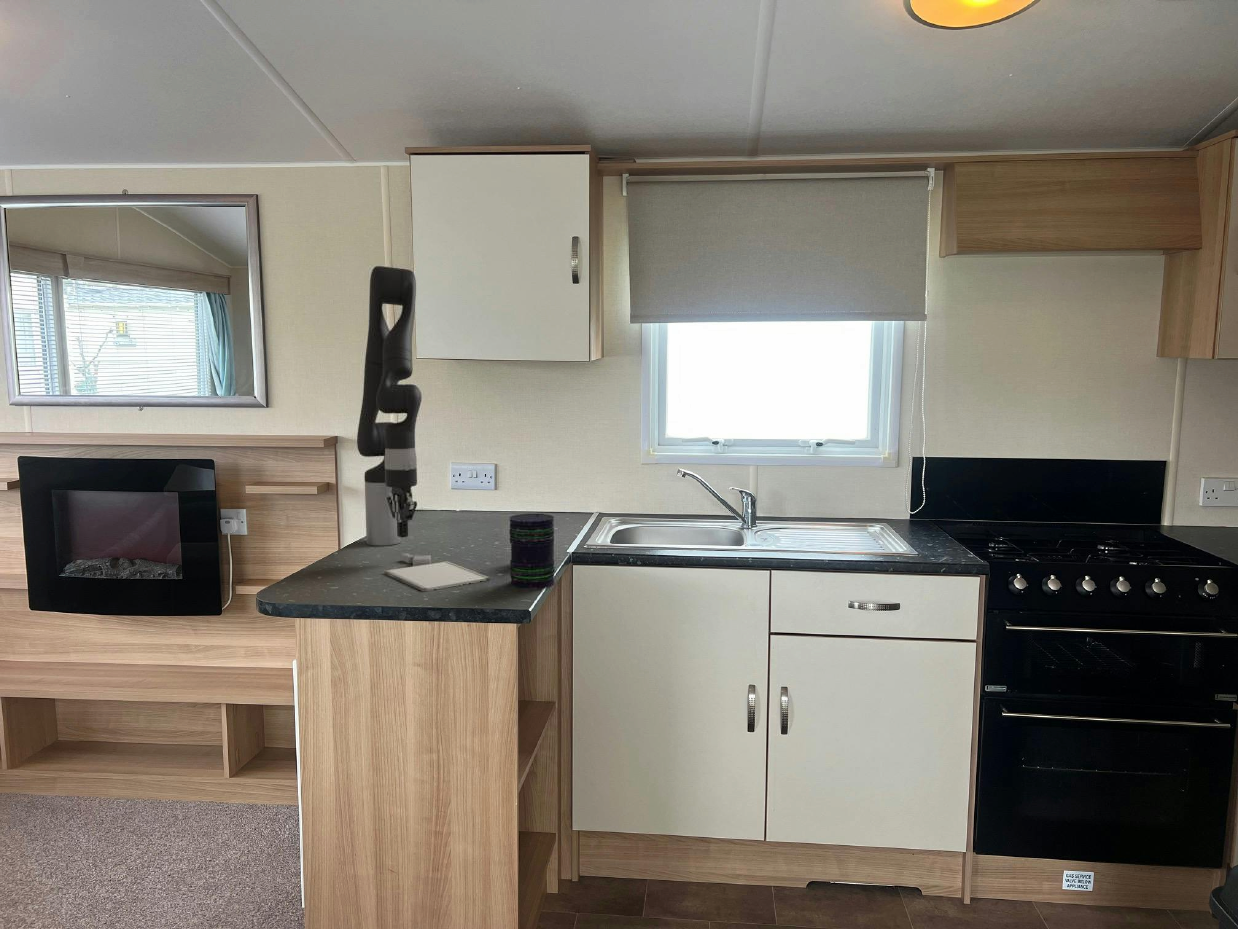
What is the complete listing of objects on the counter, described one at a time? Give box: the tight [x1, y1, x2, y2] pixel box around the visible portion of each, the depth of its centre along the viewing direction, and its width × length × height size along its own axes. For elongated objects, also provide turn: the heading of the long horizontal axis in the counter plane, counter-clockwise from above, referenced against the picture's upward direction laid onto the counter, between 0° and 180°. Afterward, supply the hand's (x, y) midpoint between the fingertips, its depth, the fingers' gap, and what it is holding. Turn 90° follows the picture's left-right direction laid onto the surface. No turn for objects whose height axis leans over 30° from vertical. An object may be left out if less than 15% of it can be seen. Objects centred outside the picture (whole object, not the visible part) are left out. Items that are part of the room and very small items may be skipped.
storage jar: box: [508, 513, 556, 590], centre depth 184 cm, size 10×10×15 cm
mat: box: [384, 560, 490, 592], centre depth 191 cm, size 21×16×1 cm
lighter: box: [401, 553, 432, 567], centre depth 205 cm, size 7×2×8 cm
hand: (402, 536), depth 205 cm, fingers closed
